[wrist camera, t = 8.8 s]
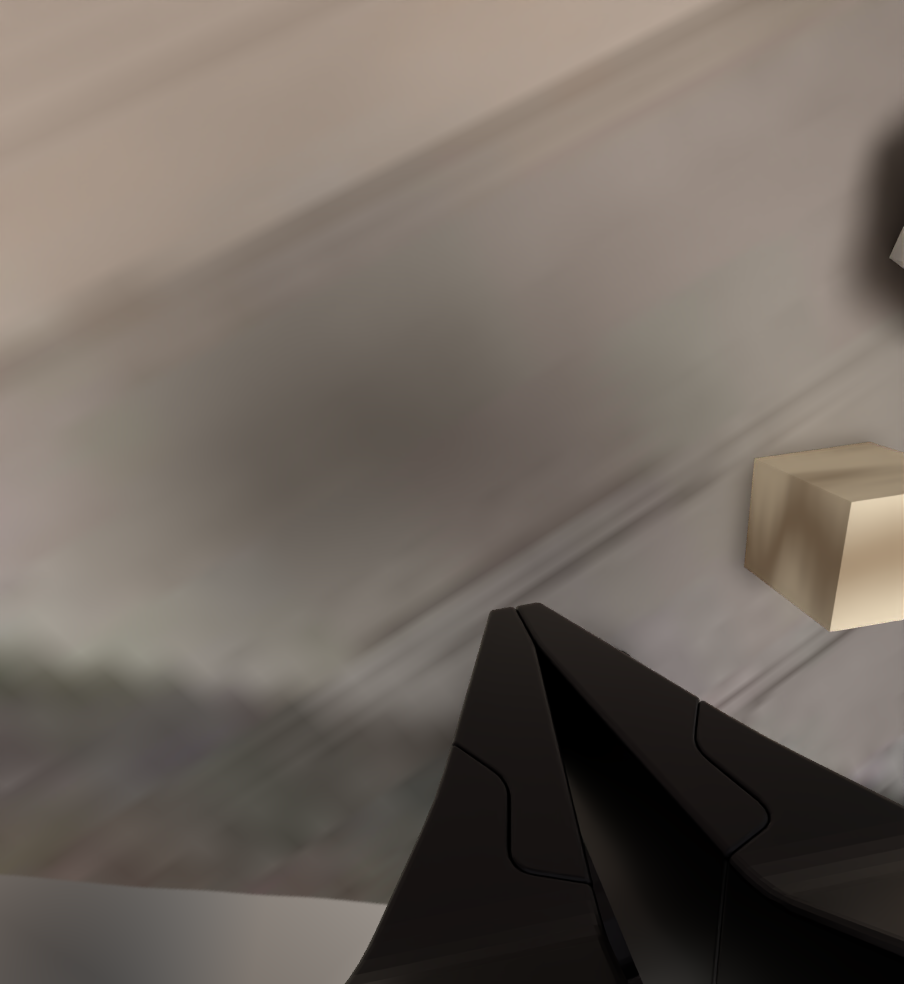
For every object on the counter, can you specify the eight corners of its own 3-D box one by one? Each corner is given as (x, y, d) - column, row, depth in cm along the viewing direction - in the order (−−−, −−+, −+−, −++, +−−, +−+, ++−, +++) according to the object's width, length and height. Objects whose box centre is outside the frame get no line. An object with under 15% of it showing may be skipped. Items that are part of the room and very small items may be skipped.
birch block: (849, 548, 24) (959, 610, 20) (742, 565, 24) (829, 631, 19) (868, 441, 22) (994, 480, 18) (753, 457, 22) (851, 502, 17)
